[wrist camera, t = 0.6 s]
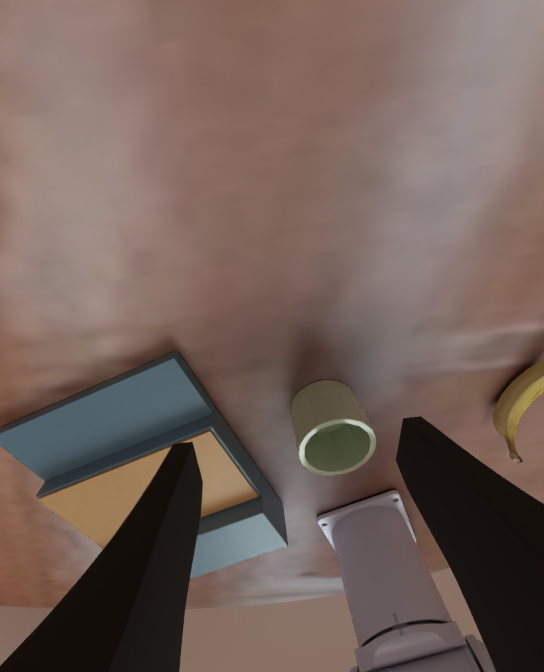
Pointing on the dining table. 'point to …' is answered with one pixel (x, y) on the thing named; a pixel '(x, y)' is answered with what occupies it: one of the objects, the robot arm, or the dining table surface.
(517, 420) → the banana
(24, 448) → the step shelf
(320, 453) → the cup
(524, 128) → the dining table surface
